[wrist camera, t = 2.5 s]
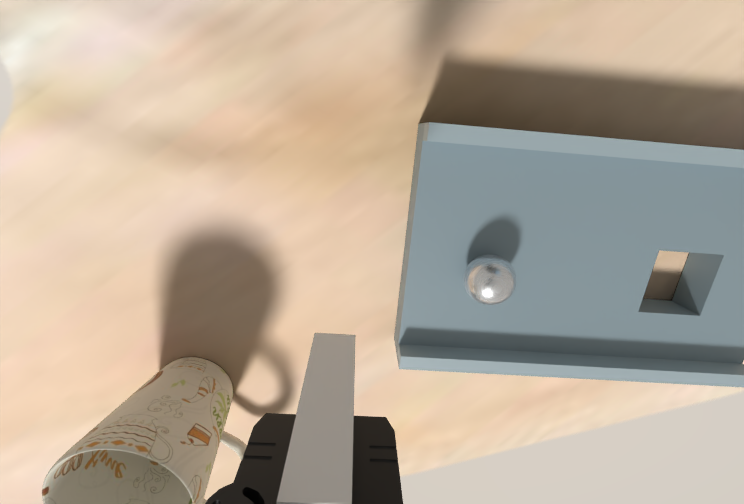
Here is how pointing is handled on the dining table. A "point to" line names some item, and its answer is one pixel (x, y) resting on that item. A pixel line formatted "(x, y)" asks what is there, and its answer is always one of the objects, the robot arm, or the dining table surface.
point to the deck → (573, 257)
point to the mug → (151, 443)
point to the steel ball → (490, 279)
